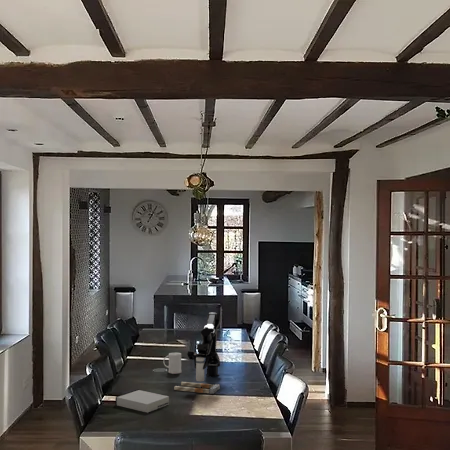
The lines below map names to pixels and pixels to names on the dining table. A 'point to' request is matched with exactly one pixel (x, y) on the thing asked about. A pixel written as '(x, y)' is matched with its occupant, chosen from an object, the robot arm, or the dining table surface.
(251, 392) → the dining table surface
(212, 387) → the beige u-shaped frame
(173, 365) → the mug
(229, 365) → the dining table surface
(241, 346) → the dining table surface
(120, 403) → the disc drive
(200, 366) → the grey capped post
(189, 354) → the robot arm
